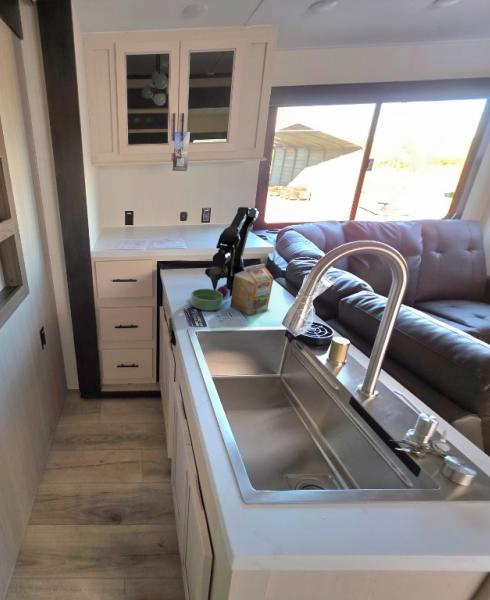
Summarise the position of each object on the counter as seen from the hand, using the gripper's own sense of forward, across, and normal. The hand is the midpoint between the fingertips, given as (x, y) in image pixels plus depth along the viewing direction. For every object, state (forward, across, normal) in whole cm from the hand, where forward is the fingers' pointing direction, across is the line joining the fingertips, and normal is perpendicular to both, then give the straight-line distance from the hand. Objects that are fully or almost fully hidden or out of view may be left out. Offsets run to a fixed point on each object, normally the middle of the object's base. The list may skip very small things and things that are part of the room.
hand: (222, 293), depth 145 cm
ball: (-1, 0, 0) cm, 1 cm away
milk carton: (+2, +15, -1) cm, 15 cm away
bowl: (+2, +2, -13) cm, 13 cm away
